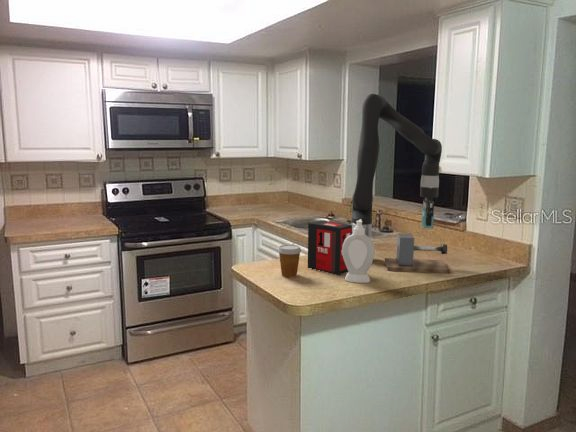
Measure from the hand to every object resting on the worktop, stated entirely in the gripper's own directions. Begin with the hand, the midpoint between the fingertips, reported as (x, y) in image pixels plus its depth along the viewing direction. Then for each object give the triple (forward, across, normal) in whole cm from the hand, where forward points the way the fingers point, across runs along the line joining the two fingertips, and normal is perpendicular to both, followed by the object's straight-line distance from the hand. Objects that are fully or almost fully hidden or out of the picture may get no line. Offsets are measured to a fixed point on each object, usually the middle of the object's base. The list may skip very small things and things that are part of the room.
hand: (427, 224), depth 209 cm
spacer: (+1, 0, 0) cm, 1 cm away
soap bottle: (+20, +24, -30) cm, 43 cm away
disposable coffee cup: (+20, +21, -58) cm, 65 cm away
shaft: (+13, 0, +1) cm, 13 cm away
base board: (+19, 0, -4) cm, 20 cm away
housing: (+18, 0, -9) cm, 20 cm away
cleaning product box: (+20, +10, -42) cm, 47 cm away
